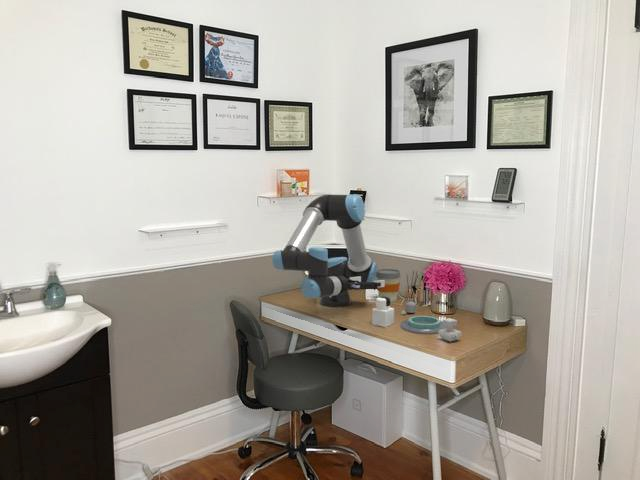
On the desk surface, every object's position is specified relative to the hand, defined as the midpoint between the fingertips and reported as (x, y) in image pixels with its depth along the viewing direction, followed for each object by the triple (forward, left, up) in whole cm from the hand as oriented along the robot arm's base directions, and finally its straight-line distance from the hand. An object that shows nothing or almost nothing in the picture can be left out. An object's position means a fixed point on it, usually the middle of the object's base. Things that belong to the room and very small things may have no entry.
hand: (372, 281), depth 230 cm
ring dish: (+14, +18, -20) cm, 30 cm away
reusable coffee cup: (-30, +39, -20) cm, 54 cm away
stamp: (+32, +13, -20) cm, 40 cm away
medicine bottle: (0, +7, -20) cm, 22 cm away
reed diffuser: (-4, +29, -20) cm, 36 cm away
